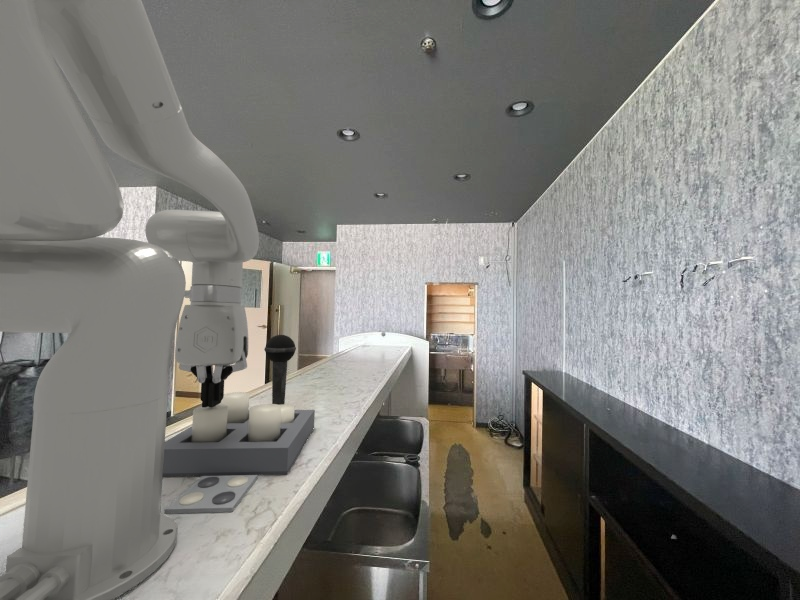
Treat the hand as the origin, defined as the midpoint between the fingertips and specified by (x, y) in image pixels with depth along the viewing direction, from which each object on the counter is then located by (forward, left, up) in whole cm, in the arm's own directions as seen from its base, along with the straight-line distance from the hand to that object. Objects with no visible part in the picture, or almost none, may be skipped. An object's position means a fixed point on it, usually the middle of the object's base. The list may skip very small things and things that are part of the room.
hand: (211, 404), depth 53 cm
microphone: (+18, -6, -9) cm, 21 cm away
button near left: (0, 0, -5) cm, 5 cm away
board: (+4, -5, -9) cm, 11 cm away
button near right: (0, -9, -5) cm, 10 cm away
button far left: (+9, 0, -5) cm, 10 cm away
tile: (-11, -7, -9) cm, 15 cm away
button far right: (+9, -9, -8) cm, 15 cm away
